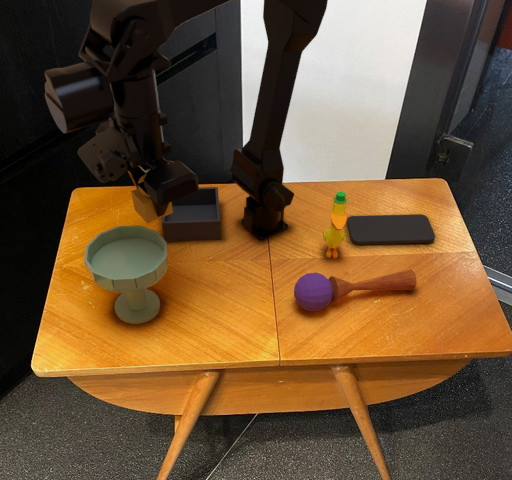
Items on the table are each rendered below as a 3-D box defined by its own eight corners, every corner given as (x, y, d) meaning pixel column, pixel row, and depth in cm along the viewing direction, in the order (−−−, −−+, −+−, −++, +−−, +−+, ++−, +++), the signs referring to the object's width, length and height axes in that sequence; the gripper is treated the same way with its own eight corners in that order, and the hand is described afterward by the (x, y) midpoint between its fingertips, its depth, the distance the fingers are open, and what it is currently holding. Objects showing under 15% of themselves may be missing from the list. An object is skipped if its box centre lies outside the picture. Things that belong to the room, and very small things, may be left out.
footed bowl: (152, 272, 91) (143, 216, 82) (187, 314, 85) (181, 258, 76) (88, 300, 87) (71, 243, 78) (121, 346, 81) (106, 290, 72)
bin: (218, 204, 103) (217, 186, 100) (221, 239, 97) (220, 221, 94) (165, 206, 102) (162, 188, 99) (164, 241, 96) (161, 223, 93)
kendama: (425, 283, 85) (305, 299, 80) (410, 305, 90) (296, 320, 85) (411, 253, 88) (293, 266, 83) (397, 276, 93) (286, 289, 88)
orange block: (160, 199, 84) (154, 164, 79) (173, 213, 82) (168, 177, 77) (134, 210, 82) (127, 174, 77) (147, 223, 80) (140, 188, 75)
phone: (346, 215, 101) (426, 213, 101) (345, 219, 101) (425, 217, 102) (353, 242, 96) (437, 239, 96) (352, 245, 96) (435, 243, 97)
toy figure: (342, 268, 93) (354, 210, 83) (321, 267, 93) (330, 209, 83) (340, 242, 97) (351, 184, 88) (320, 241, 97) (328, 183, 88)
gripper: (47, 95, 71) (77, 195, 83) (112, 162, 62) (134, 264, 74) (124, 73, 75) (141, 171, 88) (196, 132, 66) (204, 233, 78)
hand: (153, 207), depth 82 cm, fingers closed on orange block, 4 cm apart
